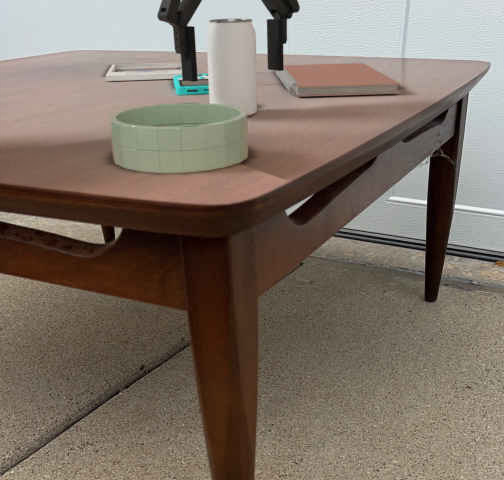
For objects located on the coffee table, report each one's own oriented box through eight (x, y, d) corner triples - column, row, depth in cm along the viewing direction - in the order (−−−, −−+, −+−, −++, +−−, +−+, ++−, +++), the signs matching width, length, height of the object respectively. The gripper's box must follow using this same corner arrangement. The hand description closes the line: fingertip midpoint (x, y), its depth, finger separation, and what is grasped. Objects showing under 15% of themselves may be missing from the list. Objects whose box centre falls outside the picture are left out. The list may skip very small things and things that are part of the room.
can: (239, 108, 98) (236, 17, 93) (266, 114, 94) (265, 19, 88) (201, 113, 95) (196, 20, 90) (227, 120, 90) (224, 22, 85)
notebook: (274, 75, 130) (274, 64, 129) (362, 72, 131) (362, 61, 130) (290, 98, 105) (290, 84, 104) (399, 94, 106) (400, 81, 105)
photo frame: (105, 74, 125) (112, 63, 142) (105, 81, 126) (113, 69, 142) (185, 71, 127) (183, 61, 143) (186, 78, 127) (183, 66, 143)
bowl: (151, 190, 61) (147, 134, 59) (93, 161, 71) (88, 112, 69) (274, 167, 68) (273, 115, 66) (205, 143, 78) (203, 98, 76)
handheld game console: (228, 79, 126) (228, 71, 125) (239, 92, 112) (238, 83, 111) (173, 81, 125) (172, 73, 124) (177, 95, 110) (176, 86, 110)
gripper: (147, -116, 74) (164, 88, 83) (327, -109, 86) (324, 68, 96) (118, -108, 80) (137, 82, 89) (291, -103, 92) (292, 63, 101)
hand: (234, 75), depth 92 cm, fingers open, 13 cm apart
